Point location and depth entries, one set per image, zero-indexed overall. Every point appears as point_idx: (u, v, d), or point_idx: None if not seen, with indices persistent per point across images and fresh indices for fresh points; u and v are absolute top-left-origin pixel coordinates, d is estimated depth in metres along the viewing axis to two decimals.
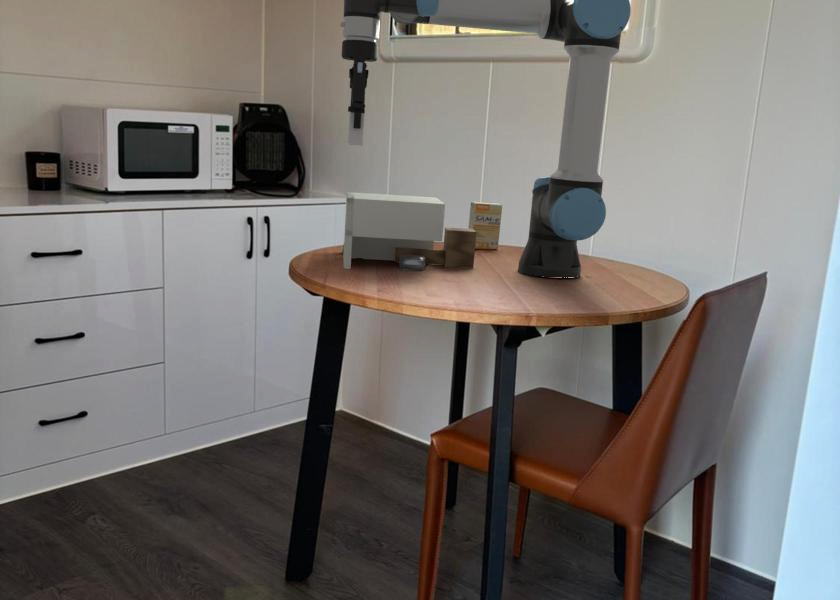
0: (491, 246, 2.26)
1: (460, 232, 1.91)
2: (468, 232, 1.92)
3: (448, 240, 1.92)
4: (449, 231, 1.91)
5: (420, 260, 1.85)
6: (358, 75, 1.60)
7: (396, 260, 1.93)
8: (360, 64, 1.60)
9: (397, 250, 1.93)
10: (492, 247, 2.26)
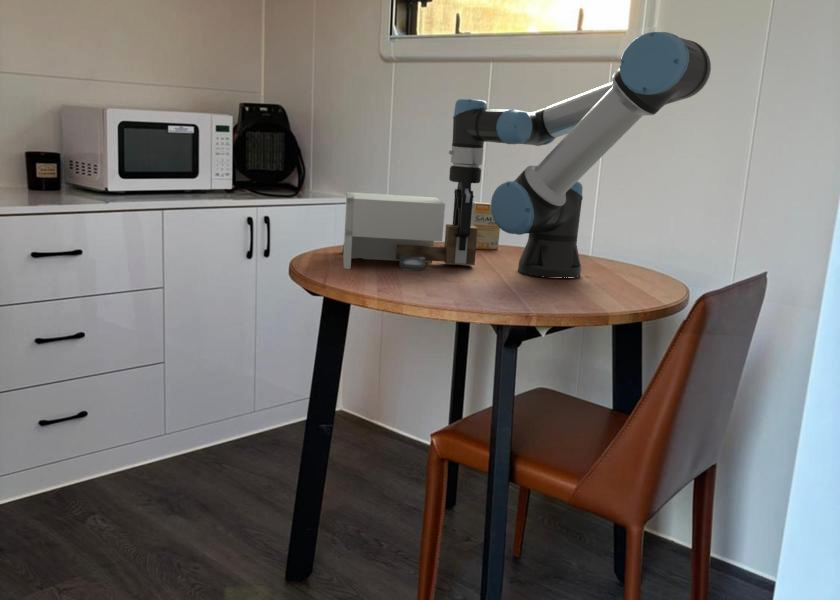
0: (491, 246, 2.26)
1: None
2: None
3: (449, 237, 1.91)
4: (450, 228, 1.91)
5: (420, 260, 1.85)
6: (466, 205, 1.86)
7: (397, 257, 1.93)
8: (468, 197, 1.86)
9: (398, 247, 1.93)
10: (492, 247, 2.26)
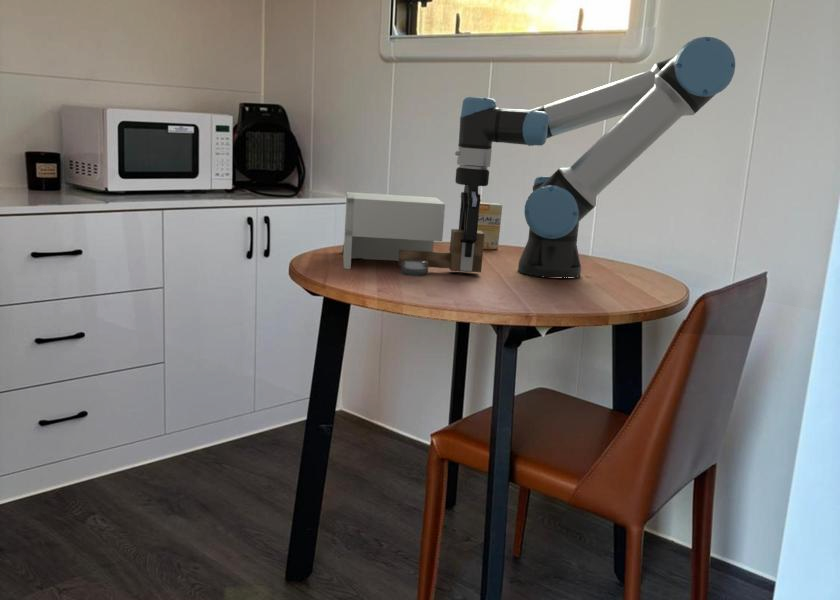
0: (491, 246, 2.26)
1: None
2: None
3: (454, 242, 1.81)
4: (455, 233, 1.81)
5: (423, 264, 1.78)
6: (473, 209, 1.76)
7: (399, 263, 1.83)
8: (475, 200, 1.75)
9: (400, 253, 1.83)
10: (492, 247, 2.26)
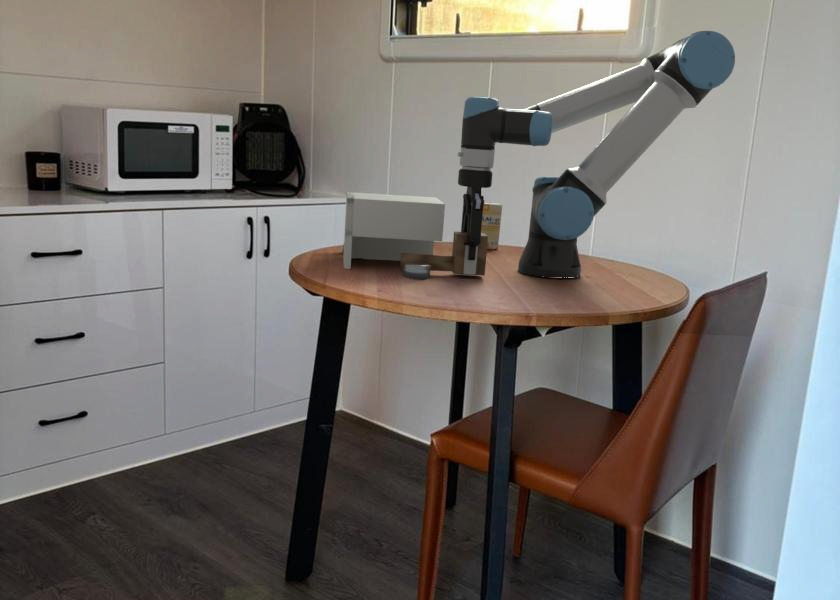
0: (491, 246, 2.26)
1: None
2: None
3: (457, 245, 1.78)
4: (458, 235, 1.77)
5: (425, 268, 1.75)
6: (476, 212, 1.73)
7: (401, 267, 1.80)
8: (478, 202, 1.72)
9: (402, 256, 1.79)
10: (492, 247, 2.26)
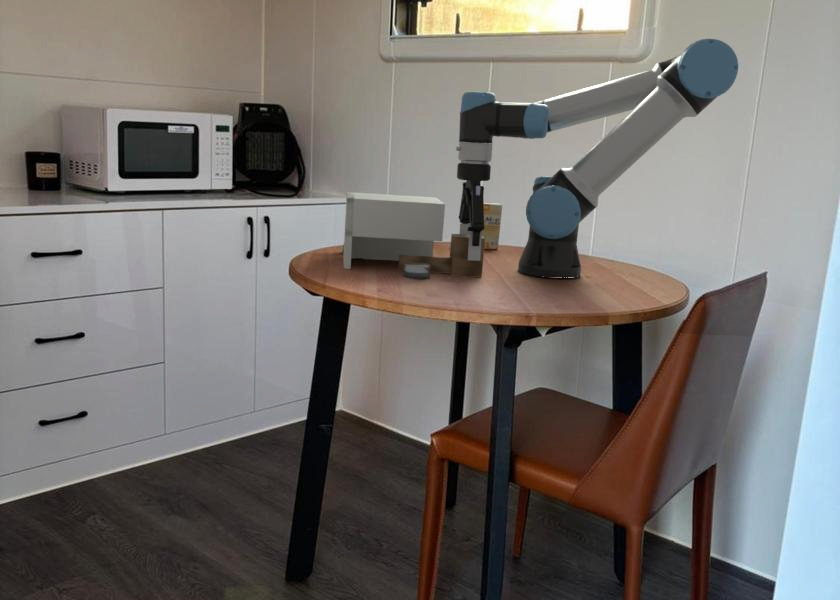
0: (491, 246, 2.26)
1: (468, 239, 1.81)
2: None
3: (455, 247, 1.81)
4: (456, 238, 1.80)
5: (425, 268, 1.75)
6: (477, 197, 1.74)
7: (400, 268, 1.83)
8: (478, 188, 1.74)
9: (401, 258, 1.82)
10: (492, 247, 2.26)
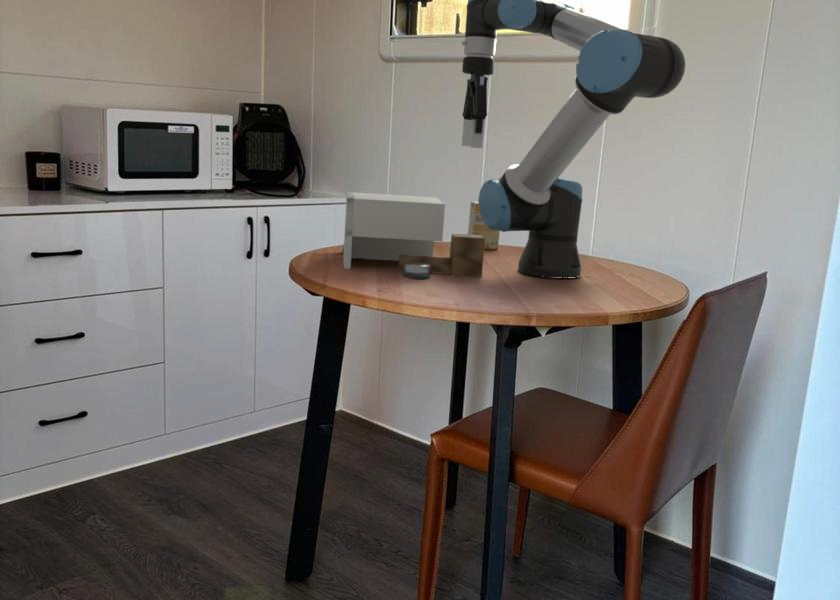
0: (491, 246, 2.26)
1: (468, 239, 1.81)
2: (476, 239, 1.81)
3: (455, 247, 1.81)
4: (456, 238, 1.80)
5: (425, 268, 1.75)
6: (481, 87, 1.86)
7: (400, 268, 1.83)
8: (482, 78, 1.86)
9: (401, 257, 1.82)
10: (492, 247, 2.26)
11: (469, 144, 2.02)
